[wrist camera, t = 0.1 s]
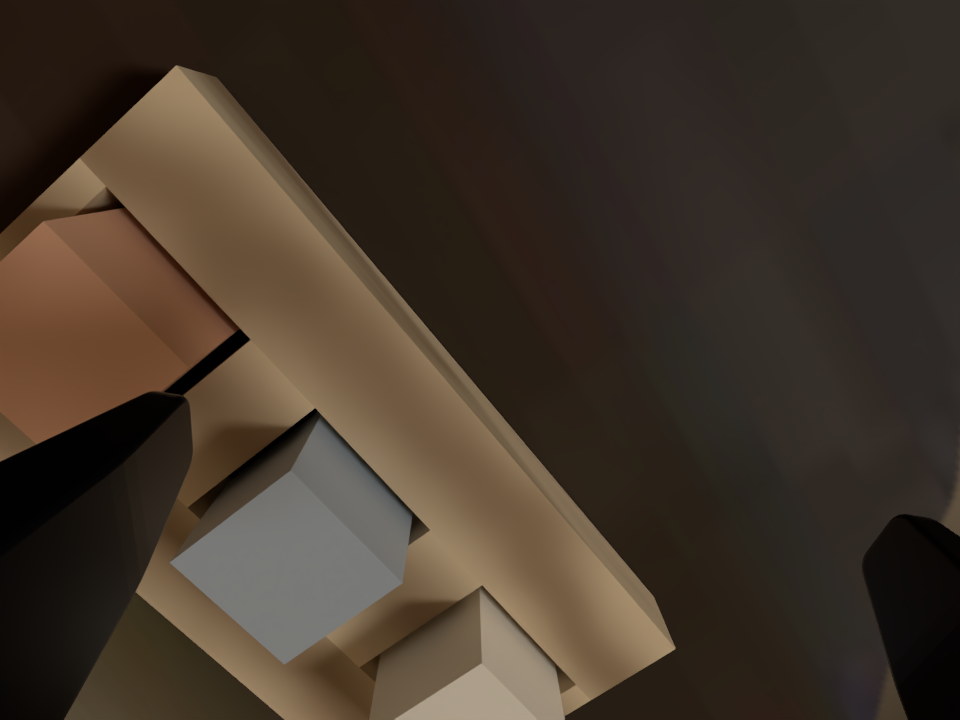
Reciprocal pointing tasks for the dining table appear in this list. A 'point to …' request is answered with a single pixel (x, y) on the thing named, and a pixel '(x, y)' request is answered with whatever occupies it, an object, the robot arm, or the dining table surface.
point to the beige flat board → (342, 415)
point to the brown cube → (96, 321)
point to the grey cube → (299, 541)
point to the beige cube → (467, 669)
